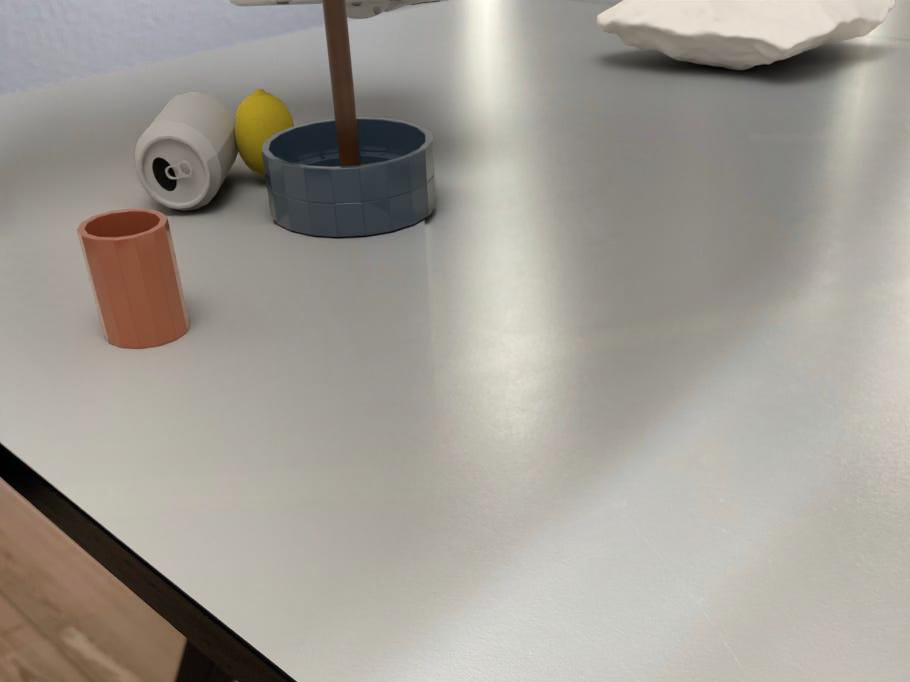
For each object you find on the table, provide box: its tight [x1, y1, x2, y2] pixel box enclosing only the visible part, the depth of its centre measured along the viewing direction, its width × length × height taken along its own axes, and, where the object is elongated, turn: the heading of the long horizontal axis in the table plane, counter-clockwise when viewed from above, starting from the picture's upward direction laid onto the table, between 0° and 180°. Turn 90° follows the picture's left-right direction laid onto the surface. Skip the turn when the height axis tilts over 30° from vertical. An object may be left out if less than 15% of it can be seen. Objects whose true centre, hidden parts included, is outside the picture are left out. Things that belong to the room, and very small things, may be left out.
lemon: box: [234, 88, 295, 179], centre depth 102 cm, size 6×6×8 cm
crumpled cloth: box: [596, 0, 897, 71], centre depth 130 cm, size 24×35×9 cm
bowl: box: [261, 116, 437, 238], centre depth 95 cm, size 14×14×6 cm
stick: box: [322, 0, 361, 166], centre depth 91 cm, size 2×2×20 cm
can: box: [133, 91, 239, 212], centre depth 100 cm, size 8×8×12 cm
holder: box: [76, 208, 191, 350], centre depth 77 cm, size 6×6×8 cm
